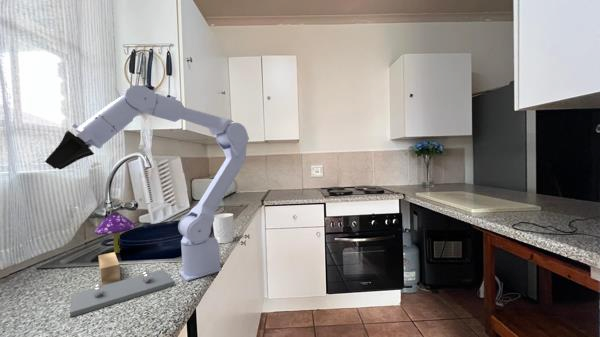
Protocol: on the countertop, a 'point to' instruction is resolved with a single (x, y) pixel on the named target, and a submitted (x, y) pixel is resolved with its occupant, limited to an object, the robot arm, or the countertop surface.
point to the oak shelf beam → (109, 268)
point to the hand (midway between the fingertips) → (52, 166)
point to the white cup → (223, 227)
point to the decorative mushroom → (115, 227)
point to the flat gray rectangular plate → (118, 291)
